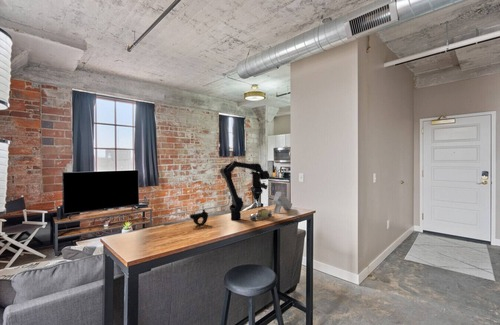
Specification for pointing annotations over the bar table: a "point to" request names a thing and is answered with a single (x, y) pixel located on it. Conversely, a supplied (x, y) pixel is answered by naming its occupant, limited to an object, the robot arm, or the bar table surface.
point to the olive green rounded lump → (263, 213)
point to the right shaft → (269, 213)
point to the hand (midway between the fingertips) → (256, 200)
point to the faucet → (281, 202)
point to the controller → (199, 215)
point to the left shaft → (254, 216)
